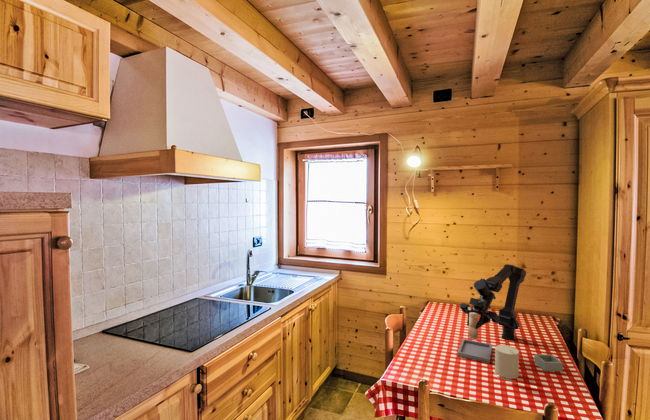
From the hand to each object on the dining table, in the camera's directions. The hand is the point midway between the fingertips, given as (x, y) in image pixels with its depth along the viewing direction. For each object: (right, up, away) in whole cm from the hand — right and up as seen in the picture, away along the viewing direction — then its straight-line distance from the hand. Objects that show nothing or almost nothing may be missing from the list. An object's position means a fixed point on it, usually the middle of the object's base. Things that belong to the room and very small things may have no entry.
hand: (471, 327), depth 162 cm
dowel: (+1, -6, +1) cm, 6 cm away
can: (+7, -14, -19) cm, 25 cm away
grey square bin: (+28, -14, -14) cm, 34 cm away
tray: (+3, -13, +3) cm, 14 cm away
